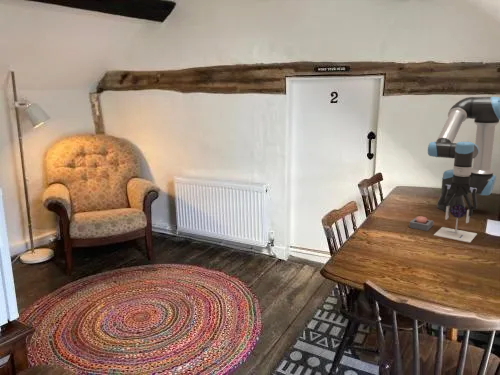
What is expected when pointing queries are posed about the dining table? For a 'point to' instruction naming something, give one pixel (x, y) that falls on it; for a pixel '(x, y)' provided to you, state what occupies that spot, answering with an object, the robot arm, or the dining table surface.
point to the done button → (421, 219)
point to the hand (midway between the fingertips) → (456, 220)
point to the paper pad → (458, 236)
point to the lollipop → (457, 213)
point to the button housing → (420, 225)
